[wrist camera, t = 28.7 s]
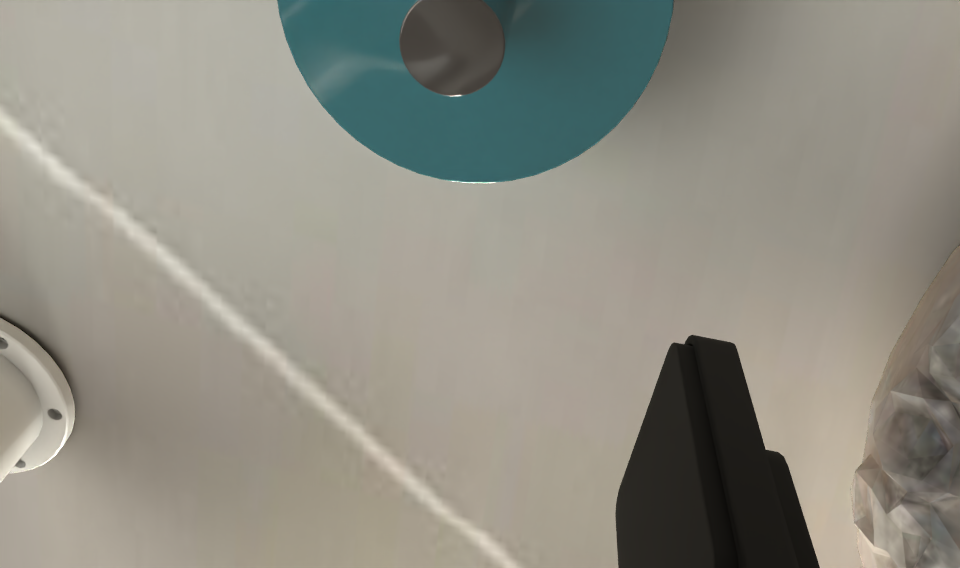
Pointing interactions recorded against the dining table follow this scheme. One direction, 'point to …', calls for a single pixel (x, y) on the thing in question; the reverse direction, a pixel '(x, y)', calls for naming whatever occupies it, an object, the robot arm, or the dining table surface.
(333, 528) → the dining table surface
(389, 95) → the lid
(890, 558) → the clay pot
